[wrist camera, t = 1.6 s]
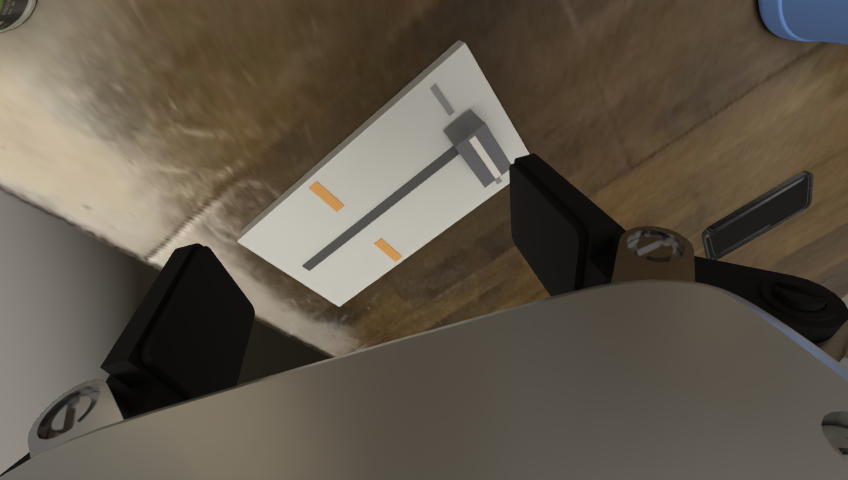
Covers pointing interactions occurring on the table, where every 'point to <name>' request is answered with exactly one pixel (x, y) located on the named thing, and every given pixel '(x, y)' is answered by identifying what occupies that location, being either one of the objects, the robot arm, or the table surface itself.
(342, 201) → the fader board
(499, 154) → the fader knob
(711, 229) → the phone
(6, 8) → the coffee can
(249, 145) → the table surface
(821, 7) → the water jug
